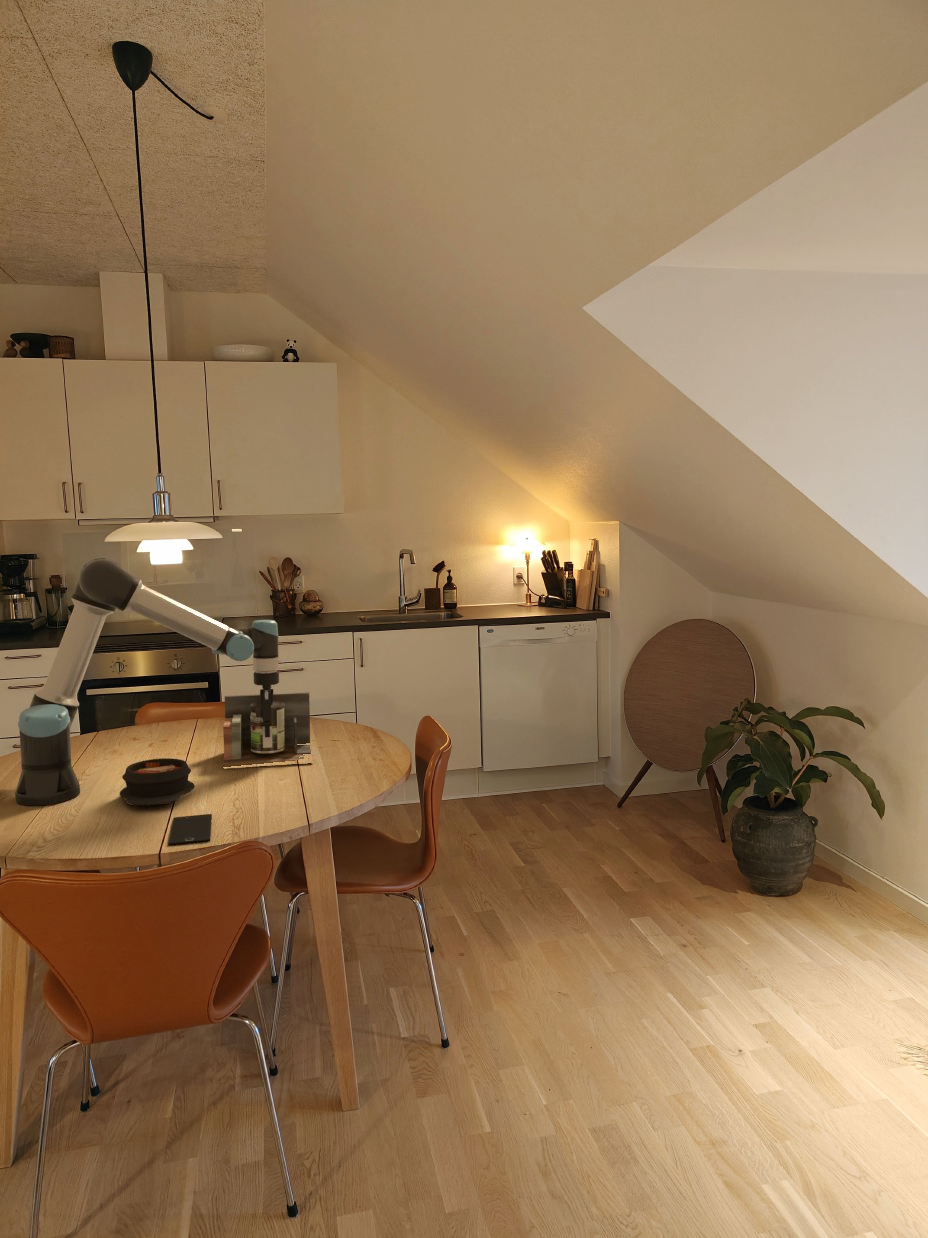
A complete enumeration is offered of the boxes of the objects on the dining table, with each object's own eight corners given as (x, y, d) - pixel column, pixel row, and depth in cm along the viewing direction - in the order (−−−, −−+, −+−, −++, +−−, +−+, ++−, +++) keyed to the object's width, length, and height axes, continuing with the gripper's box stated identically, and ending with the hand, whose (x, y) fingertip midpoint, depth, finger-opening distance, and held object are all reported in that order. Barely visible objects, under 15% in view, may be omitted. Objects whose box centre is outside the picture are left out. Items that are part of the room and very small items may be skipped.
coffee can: (263, 755, 245) (262, 709, 244) (244, 749, 252) (243, 704, 251) (292, 749, 253) (291, 704, 251) (272, 743, 260) (271, 699, 258)
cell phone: (168, 847, 182) (168, 843, 182) (173, 821, 199) (173, 817, 199) (210, 843, 184) (209, 839, 184) (211, 817, 202) (211, 813, 202)
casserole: (128, 785, 227) (126, 755, 226) (198, 780, 231) (197, 751, 230) (111, 815, 202) (109, 781, 201) (190, 809, 207) (189, 776, 206)
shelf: (312, 764, 247) (311, 704, 245) (222, 769, 241) (220, 709, 239) (310, 747, 266) (309, 692, 264) (226, 752, 261) (224, 695, 259)
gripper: (279, 676, 240) (280, 751, 242) (278, 664, 262) (280, 733, 264) (252, 677, 238) (254, 753, 240) (254, 665, 260) (256, 734, 262)
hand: (267, 743), depth 252 cm, fingers closed on coffee can, 10 cm apart
